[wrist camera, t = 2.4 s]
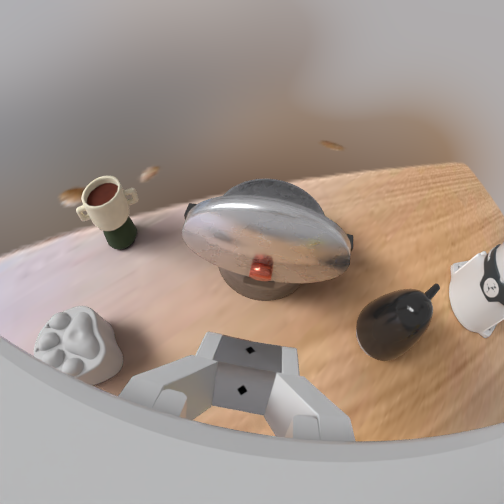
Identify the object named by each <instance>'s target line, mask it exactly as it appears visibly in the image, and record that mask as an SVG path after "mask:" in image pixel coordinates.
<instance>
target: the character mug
mask: <svg viewBox="0 0 504 504" xmlns="http://www.w3.org/2000/svg"><path fill="white" fill-rule="evenodd" d="M130 194H131V196H132V199H128V200H127V198H126V196H127V195H130ZM81 199H82V202H83V205H82V206H80V207H78V208H77V209H76V212H77V214H78V215H79V217H80V219H81V220H82V221H87V220H89V219H91V220H92V221H93V223H94V225H95V226H97V227H98V228H99V229H100V230H103V232H104V235H105V237H106V239H107V242H108V244H109V245H110V246H111V247H112V248H114V249H124V248H127V247H128V246H129V245H131V244H132V243H133V242H134V239H135V237H136V234H137V229H136V227H135V225H134V224H133V222H132V220H131V219H130V217H129V205H131V204H135V203H137V202H138V196H137V193H136V190H135V189H134V188H130V189H127V190H123V188H122V185H121V183H120V181H119V180H118V179H117V178H115V177H114V176H102V177H99V178H97V179H95V180H93V181H92V182H91V183H90V184H89V185H88V186H87V187H86V188H85V190H84V191H83V194H82V198H81ZM83 211H87V213H88V214H87V215H84V214H83Z"/></svg>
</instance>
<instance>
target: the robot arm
mask: <svg viewBox="0 0 504 504" xmlns="http://www.w3.org/2000/svg"><path fill="white" fill-rule="evenodd" d="M449 297H450V303H451V306H452V309H453V311H454V314H455V316H456V317H457V319H458V320H459V322H460V323H461V324H462V325H463V326H464V327H465V328H466V329H468V330H470V331H472V332H477V333H479V334H480V335H482V336H483V337H484V338H487V337H489V336H490V335H491V333H492V332H493V330H494V328H495V327H496V325H497V323H499V322H501V321H502V320H504V242H503V243H502V244H499V245H497V246H496V247H494V248H493V249H492V250H491V251H490V252H489V253H488V254H487V253H486V252H485V251H483V252H481V253H478V254H477V255H476V256H474V257H473V258H472V259H471V260H469V261H465V262H459V263H454V264H453V265H451V282H450V286H449ZM211 405H213V406H218V407H223V408H228V409H234V410H239V411H244V412H249V413H254V414H259V415H264V418H265V419H266V421H267V422H268V424H269V426H270V427H271V429H272V430H273V432H274V434H275V435H276V436H269V435H262V434H256V433H250V432H244V431H238V430H233V429H228V428H223V427H218V426H214V425H209V424H205V423H201V422H197V421H193V419H195V418H196V417H197V416H199V415H200V414H202V413H203V412H204V411H206V410H207V409H209V408H210V407H211ZM0 504H504V422H503V423H499V424H495V425H491V426H487V427H483V428H479V429H474V430H469V431H464V432H459V433H454V434H448V435H441V436H434V437H426V438H417V439H406V440H392V441H364V442H356V441H355V437H354V433H353V429H352V425H351V421H350V418H349V417H348V416H347V415H346V414H345V413H344V412H342V411H341V410H340V409H339V408H338V407H337V406H336V405H335V404H333V403H332V402H331V401H330V400H329V399H328V398H327V397H326V396H324V395H323V394H322V393H321V392H320V391H319V390H318V389H317V388H316V387H315V386H313V385H312V384H311V383H310V382H309V381H308V380H307V379H306V378H305V377H303V376H300V375H299V364H298V354H297V349H296V348H292V347H284V346H277V345H271V344H264V343H258V342H252V341H249V340H244V339H239V338H235V337H231V336H226V335H222V334H218V333H213V332H207V333H206V334H205V337H204V339H203V341H202V343H201V345H200V347H199V349H198V351H197V353H196V355H195V356H193V355H190V356H187V357H184V358H182V359H179V360H177V361H174V362H171V363H168V364H166V365H163V366H160V367H158V368H155V369H152V370H149V371H146V372H143V373H141V374H138V375H135V376H133V377H132V378H131V379H130V381H129V382H128V383H127V385H126V386H125V388H124V389H123V390H122V392H121V393H120V394H119V396H116V395H113V394H111V393H108V392H106V391H103V390H101V389H99V388H96V387H94V386H92V385H89V384H87V383H85V382H83V381H81V380H79V379H76V378H74V377H72V376H70V375H68V374H66V373H64V372H62V371H60V370H58V369H56V368H54V367H52V366H51V365H49V364H47V363H45V362H43V361H41V360H40V359H38V358H36V357H34V356H33V355H31V354H29V353H27V352H26V351H24V350H22V349H21V348H19V347H18V346H16V345H14V344H13V343H11V342H10V341H8V340H7V339H5V338H4V337H2V336H1V335H0Z"/></svg>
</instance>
